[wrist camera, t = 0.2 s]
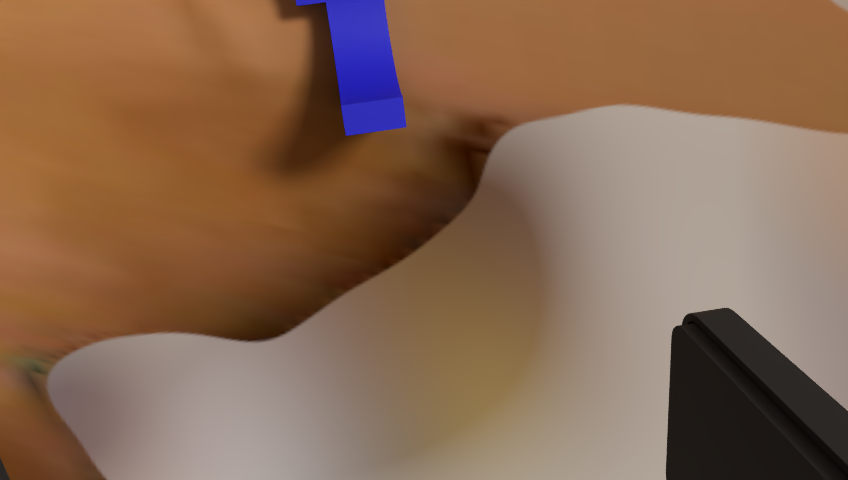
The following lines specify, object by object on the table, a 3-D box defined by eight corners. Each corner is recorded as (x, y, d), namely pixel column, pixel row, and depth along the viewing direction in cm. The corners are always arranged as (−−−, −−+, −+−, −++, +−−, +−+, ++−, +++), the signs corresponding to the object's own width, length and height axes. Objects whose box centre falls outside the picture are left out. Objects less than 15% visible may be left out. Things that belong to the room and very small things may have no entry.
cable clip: (275, -122, 34) (264, -138, 29) (364, -132, 34) (370, -150, 29) (317, 114, 39) (315, 140, 33) (395, 103, 39) (406, 127, 34)
